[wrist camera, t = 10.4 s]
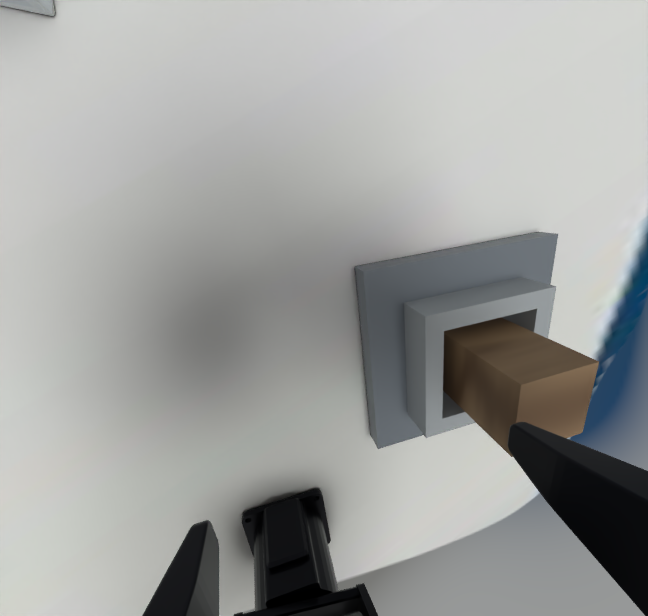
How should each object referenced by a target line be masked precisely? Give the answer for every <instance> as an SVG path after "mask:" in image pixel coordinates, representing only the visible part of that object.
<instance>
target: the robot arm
mask: <svg viewBox="0 0 648 616" xmlns="http://www.w3.org/2000/svg"><path fill="white" fill-rule="evenodd" d="M507 445H508V449H509V451H510V453H511V454H512V456H513V457H514V458H515V460H516V461H517V462H518V464H519V465H520V466H521V468H522V469H523V471H524V472H525V473H526V475H527V476H528V477H529V479H530V480H531V481H532V483H533V484H534V485H535V487H536V488H537V489H538V491H539V492H540V494H541V495H542V496H543V497H544V499H545V500H546V501H547V503H548V504H549V505H550V506H551V507H552V508H553V510H554V511H555V512H556V513H557V514H558V515H559V517H560V518H561V519H562V520H563V521H564V522H565V524H566V525H567V526H568V527H569V528H570V529H571V530H572V532H573V533H574V534H575V535H576V536H577V537H578V538H579V540H580V541H581V542H582V543H583V544H584V545H585V547H587V549H588V550H589V551H590V552H591V553H592V555H593V556H594V557H595V558H596V559H597V560H598V562H599V563H600V564H601V565H602V566H603V567H604V568H605V570H606V571H607V572H608V573H609V574H610V575H611V577H612V578H613V579H614V580H615V581H616V582H617V583H618V585H619V586H620V587H621V588H622V589H623V590H624V592H625V593H626V594H627V595H628V596H629V597H630V598H631V600H632V601H633V602H634V603H635V604H636V605H637V607H638V608H639V609H640V610H641V611H642V612H643V613H644V615H645V616H648V471H646V470H644V469H641V468H638V467H636V466H634V465H631V464H629V463H626V462H624V461H621V460H619V459H616V458H614V457H611V456H609V455H606V454H604V453H601V452H599V451H596V450H594V449H591V448H589V447H586V446H584V445H581V444H579V443H576V442H574V441H571V440H569V439H567V438H564V437H562V436H559V435H557V434H554V433H552V432H549V431H547V430H544V429H542V428H539V427H537V426H534V425H532V424H529V423H527V422H518V423H515V424H512V425H511V426H510V428H509V435H508V443H507ZM242 524H243V527H244V530H245V533H246V536H247V539H248V542H249V545H250V548H251V551H252V554H253V556H254V581H255V611H254V612H249V613H245V614H243V612H241V613H237V614H234V616H378V614H377V612H376V610H375V607H374V605H373V603H372V601H371V598H370V596H369V594H368V592H367V589H366V587H365V585H364V583H362V584H358V585H356V587H353V588H349V589H344V590H340V591H339V590H338V586H337V582H336V577H335V573H334V569H333V564H332V560H331V556H330V552H329V547H328V544H329V543H330V541H331V539H330V534H329V528H328V523H327V518H326V512H325V507H324V501H323V496H322V492H321V490H319V489H315V490H312V491H309V492H306V493H302V494H299V495H296V496H293V497H290V498H287V499H284V500H280V501H277V502H274V503H271V504H268V505H265V506H262V507H259V508H255V509H252V510H249V511H246V512H244V513H243V514H242ZM142 616H219V544H218V539H217V537H216V534H215V532H214V529H213V527H212V524H211V522H210V521H209V520H206V521H203V522H200V523H197V524H194V525H193V526H192V527H191V528H190V530H189V532H188V533H187V535H186V537H185V539H184V541H183V543H182V544H181V546H180V548H179V550H178V552H177V554H176V555H175V557H174V559H173V561H172V563H171V564H170V566H169V568H168V570H167V572H166V574H165V575H164V577H163V579H162V581H161V583H160V584H159V586H158V588H157V590H156V592H155V594H154V595H153V597H152V599H151V601H150V603H149V605H148V606H147V608H146V610H145V612H144V614H143V615H142Z"/></svg>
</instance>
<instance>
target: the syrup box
mask: <svg viewBox="0 0 648 616" xmlns="http://www.w3.org/2000/svg"><path fill="white" fill-rule="evenodd" d="M0 6H5V7H10V8H15V9H20V10H25V11H29V12H34V13H40V14H45V15H50V16H54V15H55V10H54V4H53V0H0Z"/></svg>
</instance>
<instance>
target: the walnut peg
mask: <svg viewBox="0 0 648 616" xmlns="http://www.w3.org/2000/svg"><path fill="white" fill-rule="evenodd" d="M598 364H599V362H598V361H596V360H594V359H592V358H589V357H587V356H585V355H583V354H581V353H578V352H576V351H574V350H572V349H570V348H567V347H565V346H563V345H561V344H559V343H556V342H554V341H552V340H550V339H548V338H545V337H543V336H541V335H539V334H537V333H534V332H532V331H530V330H528V329H526V328H523V327H521V326H519V325H517V324H515V323H512V322H510V321H508V320H506V319H504V318H501V317H500V318H496V319H492V320H488V321H484V322H480V323H476V324H471V325H467V326H463V327H459V328H455V329H451V330H447V331H444V359H443V391H444V392H445V393H446V394H447V395H448V396H449V397H450V398H451V399H452V400H453V401H454V402H455V403H456V404H457V405H458V406H459V407H461V408H462V409H463V410H464V411H465V412H466V413H467V414H468V415H469V416H470V417H471V418H472V419H473V420H474V421H475V422H476V423H477V424H478V425H479V426H480V427H481V428H482V429H483V430H484V431H485V432H486V433H487V434H489V435H490V436H491V437H492V438H493V439H494V440H495V441H496V442H497V443H498V444H499V445H500V446H501V447H502V448H503V449H504V450H505V451H506V452H507V453H508V454H509V455H510V456H511V457H513V456H512V454H511V453H510V451H509V449H508V445H507V443H508V435H509V428H510V426H511V425H512V424H515V423H518V422H527V423H529V424H532V425H534V426H537V427H539V428H542V429H544V430H547V431H549V432H552V433H554V434H557V435H559V436H562V437H564V438H568V437H571V436H574V435H577V434H580V433H582V431H583V427H584V423H585V419H586V415H587V410H588V406H589V402H590V398H591V393H592V389H593V385H594V381H595V377H596V372H597V368H598Z"/></svg>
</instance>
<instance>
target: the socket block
mask: <svg viewBox="0 0 648 616" xmlns="http://www.w3.org/2000/svg"><path fill="white" fill-rule="evenodd" d="M557 238H558V234H553V233H544V232H535V233H530V234H525V235H519V236H514V237H509V238H503V239H498V240H493V241H487V242H482V243H477V244H471V245H466V246H461V247H456V248H450V249H445V250H440V251H434V252H429V253H424V254H418V255H413V256H408V257H402V258H397V259H392V260H386V261H381V262H376V263H370V264H365V265H360V266H355V273H356V283H357V294H358V305H359V316H360V326H361V337H362V348H363V359H364V369H365V380H366V391H367V402H368V413H369V423H370V434H371V437H372V438H373V440H374V442H375V444H376V446H377V448H378V449H379V448H383V447H386V446H389V445H392V444H396V443H399V442H402V441H405V440H409V439H412V438H415V437H418V436H422V435H424V436H425V437H426V438H427V437H430V436H433V435H437V434H440V433H443V432H446V431H450V430H453V429H456V428H459V427H463V426H466V425H469V424H472V423H476V422H475V421H474V420H473V419H472V418H471V417H470V416H469V415H468V414H467V413H466V412H465V411H464V410H463V409H462V408H461V407H459V406H458V405H457V404H456V403H455V402H454V401H453V400H452V399H451V398H450V397H449V396H448V395H447V394H446V393H445V392H444V391H443V359H444V331H447V330H451V329H455V328H459V327H463V326H467V325H471V324H476V323H480V322H484V321H488V320H492V319H496V318H500V317H501V318H504V319H506V320H508V321H510V322H512V323H515V324H517V325H519V326H521V327H523V328H526V329H528V330H530V331H532V332H534V333H537V334H539V335H541V336H543V337H545V338H548V334H549V328H550V322H551V316H552V310H553V303H554V297H555V291H556V286H552V285H550V283H551V277H552V270H553V264H554V257H555V251H556V244H557Z"/></svg>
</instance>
